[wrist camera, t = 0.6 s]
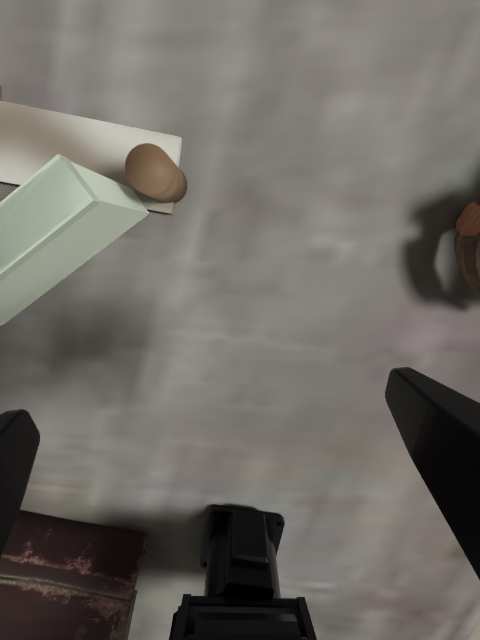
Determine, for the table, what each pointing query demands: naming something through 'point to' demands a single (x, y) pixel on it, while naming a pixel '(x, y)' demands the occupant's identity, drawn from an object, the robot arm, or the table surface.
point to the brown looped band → (469, 244)
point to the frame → (92, 152)
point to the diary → (68, 579)
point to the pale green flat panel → (58, 228)
